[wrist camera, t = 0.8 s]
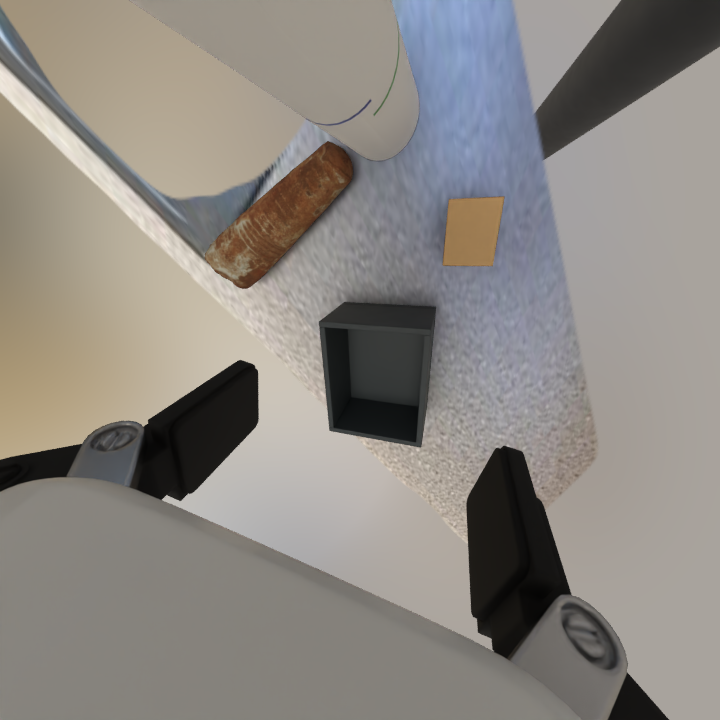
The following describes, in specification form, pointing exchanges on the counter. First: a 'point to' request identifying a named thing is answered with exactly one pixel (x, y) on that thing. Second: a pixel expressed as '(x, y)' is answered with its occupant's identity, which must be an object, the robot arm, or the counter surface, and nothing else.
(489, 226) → the carton
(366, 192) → the counter surface
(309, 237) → the counter surface
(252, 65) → the cylindrical container
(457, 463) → the counter surface
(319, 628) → the robot arm
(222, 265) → the bread
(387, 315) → the bin
